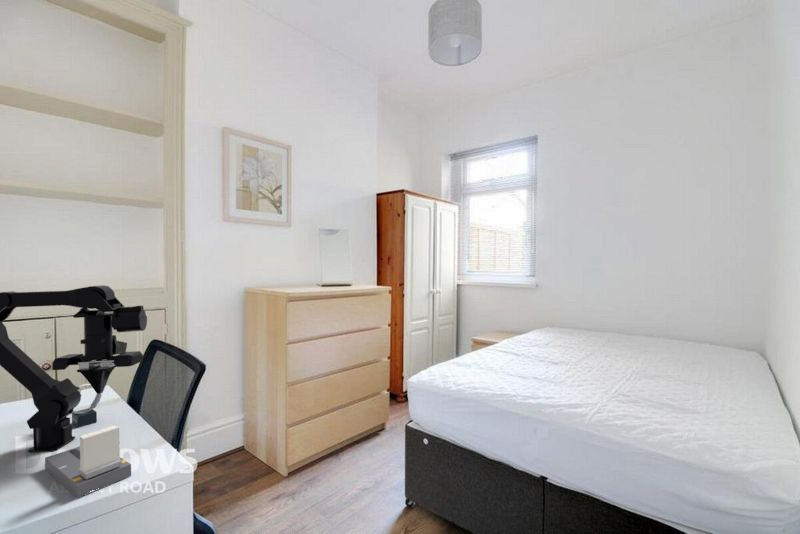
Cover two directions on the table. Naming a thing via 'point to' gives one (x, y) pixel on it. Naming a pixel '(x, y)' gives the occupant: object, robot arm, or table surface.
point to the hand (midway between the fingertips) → (99, 393)
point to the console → (68, 475)
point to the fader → (99, 452)
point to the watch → (86, 412)
